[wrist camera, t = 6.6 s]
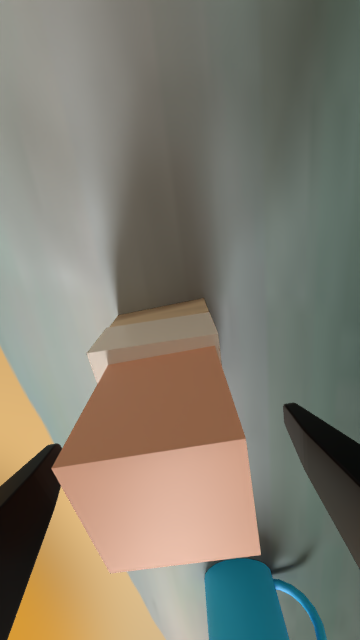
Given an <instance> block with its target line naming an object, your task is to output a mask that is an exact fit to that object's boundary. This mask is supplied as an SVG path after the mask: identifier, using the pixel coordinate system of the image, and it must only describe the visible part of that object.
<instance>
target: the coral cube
mask: <svg viewBox="0 0 360 640" xmlns="http://www.w3.org/2000/svg"><path fill="white" fill-rule="evenodd" d="M51 469H52V471H53V472H54V474H55V476H56V478H57V480H58V481H59V483H60V485H61V487H62V489H63V490H64V492H65V494H66V496H67V497H68V499H69V501H70V503H71V504H72V506H73V508H74V510H75V512H76V513H77V515H78V517H79V519H80V520H81V522H82V524H83V526H84V528H85V529H86V531H87V533H88V535H89V537H90V538H91V540H92V542H93V544H94V546H95V547H96V549H97V551H98V552H99V555H100V556H101V558H102V560H103V562H104V563H105V565H106V567H107V569H108V571H109V572H110V573H116V572H125V571H134V570H142V569H150V568H158V567H167V566H175V565H183V564H191V563H200V562H208V561H216V560H224V559H233V558H241V557H249V556H257V555H261V551H260V543H259V535H258V528H257V520H256V513H255V505H254V498H253V490H252V482H251V475H250V467H249V460H248V452H247V444H246V438H245V435H244V432H243V429H242V426H241V423H240V420H239V417H238V414H237V411H236V408H235V405H234V402H233V399H232V396H231V393H230V390H229V387H228V384H227V381H226V378H225V375H224V372H223V369H222V366H221V363H220V360H219V357H218V354H217V351H216V348H215V346H210V347H204V348H199V349H193V350H188V351H182V352H177V353H171V354H166V355H160V356H154V357H149V358H143V359H138V360H132V361H127V362H121V363H116V364H110V365H108V366H107V368H106V370H105V371H104V373H103V375H102V377H101V379H100V381H99V382H98V384H97V386H96V388H95V390H94V392H93V393H92V395H91V397H90V399H89V401H88V402H87V404H86V406H85V408H84V410H83V412H82V413H81V415H80V417H79V419H78V421H77V423H76V424H75V426H74V428H73V430H72V432H71V434H70V435H69V437H68V439H67V441H66V443H65V444H64V446H63V448H62V450H61V452H60V454H59V455H58V457H57V459H56V461H55V463H54V465H53V466H52V468H51Z"/></svg>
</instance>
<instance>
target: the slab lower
mask: <svg viewBox="0 0 360 640" xmlns="http://www.w3.org/2000/svg"><path fill="white" fill-rule="evenodd" d="M206 312H209V311H208V308H207V305H206V303H205V300H204V298H202V299H197V300H192V301H187V302H182V303H177V304H172V305H167V306H162V307H157V308H152V309H147V310H142V311H137V312H132V313H127V314H122V315H118V316H117V318H116V319H115V320H114V322H113V323H112V324H111V326H110V327H115V326H122V325H128V324H135V323H141V322H148V321H154V320H160V319H167V318H173V317H180V316H186V315H193V314H199V313H206Z"/></svg>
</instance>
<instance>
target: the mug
mask: <svg viewBox="0 0 360 640" xmlns="http://www.w3.org/2000/svg"><path fill="white" fill-rule="evenodd" d="M276 590H281V591H283V592H285V593H287V594H290V595H291V596H292V597H293V598H295V599H296V600H297V601H298V602H300V604H301V605H302V606H303V607H304V609H305V610H306V611H307V613H308V614H309V616H310V619H311V621H312V623H313V625H314V628H315V632H316V637H317V640H327V638H326V634H325V630H324V626H323V623H322V621H321V619H320V617H319V615H318V613H317V611H316V609H315V607H314V606H313V605H312V603H311V602H310V601H309V600H308V599H307V597H306V596H305V595H304V594H303V593H302V592H300V591H299V590H298V589H297V588H295V587H294V586H293V585H291V584H289V583H286V582H284V581H282V580H279V579H273V578H272V574H271V571H270V568H269V567H267V566H266V565H265V564H264V563H262V562H260V561H257V560H253V559H248V558H236V559H230V560H225V561H222V562H220V563H217V564H215V565H214V566H212V567H211V568H209V569H208V571H207V572H206V574H205V592H206V606H207V619H208V633H209V640H289V636H288V633H287V629H286V625H285V622H284V618H283V614H282V611H281V607H280V604H279V600H278V596H277V593H276Z"/></svg>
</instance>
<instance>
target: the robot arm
mask: <svg viewBox="0 0 360 640" xmlns="http://www.w3.org/2000/svg"><path fill="white" fill-rule="evenodd" d="M283 412H284V423H285V426H286V429H287V431H288V433H289V435H290V438H291V440H292V442H293V445H294V447H295V449H296V452H297V454H298V456H299V459H300V461H301V463H302V465H303V467H304V470H305V472H306V473H307V475H308V477H309V479H310V481H311V483H312V484H313V486H314V488H315V490H316V492H317V493H318V495H319V497H320V499H321V501H322V502H323V504H324V506H325V508H326V510H327V511H328V513H329V515H330V517H331V519H332V520H333V522H334V524H335V526H336V528H337V529H338V531H339V533H340V535H341V537H342V538H343V540H344V542H345V544H346V546H347V547H348V549H349V551H350V553H351V555H352V556H353V558H354V560H355V562H356V564H357V565H358V567H359V569H360V444H359V443H357V442H356V441H354V440H352V439H351V438H349V437H348V436H346V435H345V434H343V433H342V432H340V431H338V430H337V429H335V428H334V427H332V426H331V425H329V424H327V423H326V422H324V421H323V420H321V419H320V418H318V417H317V416H315V415H313V414H312V413H310V412H309V411H307V410H306V409H304V408H303V407H301V406H299V405H298V404H296V403H288V404H284V406H283ZM61 450H62V448H61V446H60V445H59V444H51V445H48V446H46V447H45V448H44V449H43V450H42V451H40V452H39V453H38V454H37V455H36V456H35V457H34V458H32V459H31V460H30V461H29V462H28V463H27V464H25V465H24V466H23V467H22V468H21V469H20V470H19V471H17V472H16V473H15V474H14V475H13V476H12V477H11V478H9V479H8V480H7V481H6V482H5V483H4V484H3V485H1V486H0V640H7V639H8V636H9V633H10V631H11V628H12V625H13V623H14V620H15V617H16V614H17V611H18V609H19V606H20V603H21V600H22V598H23V595H24V592H25V589H26V586H27V584H28V581H29V578H30V575H31V572H32V570H33V567H34V564H35V561H36V559H37V556H38V553H39V550H40V548H41V545H42V542H43V539H44V536H45V534H46V531H47V528H48V525H49V522H50V520H51V517H52V514H53V511H54V508H55V505H56V501H57V498H58V494H59V490H60V487H61V485H60V483H59V481H58V480H57V478H56V476H55V474H54V472H53V471H52V469H51V468H52V466H53V465H54V463H55V461H56V459H57V457H58V455H59V454H60V452H61Z"/></svg>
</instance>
